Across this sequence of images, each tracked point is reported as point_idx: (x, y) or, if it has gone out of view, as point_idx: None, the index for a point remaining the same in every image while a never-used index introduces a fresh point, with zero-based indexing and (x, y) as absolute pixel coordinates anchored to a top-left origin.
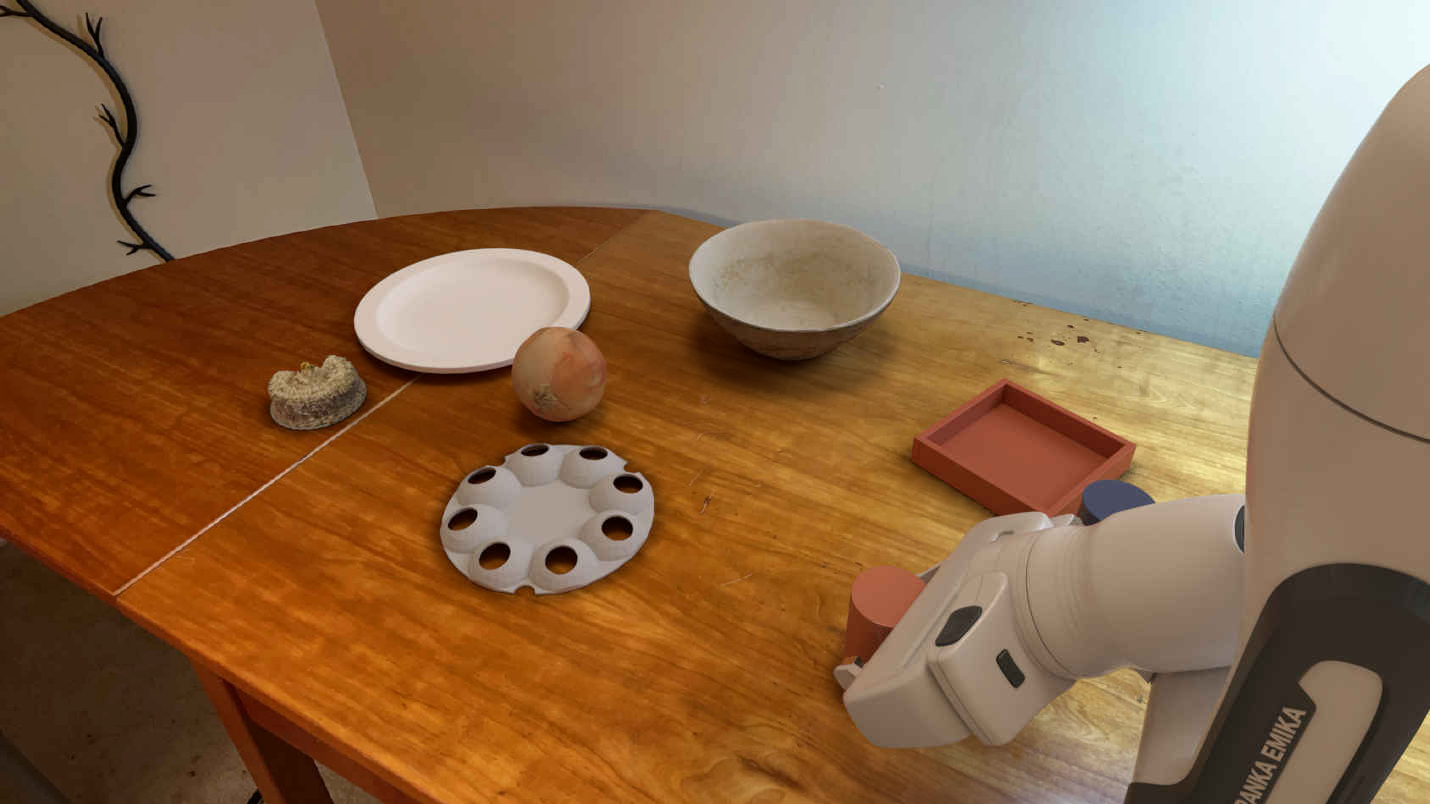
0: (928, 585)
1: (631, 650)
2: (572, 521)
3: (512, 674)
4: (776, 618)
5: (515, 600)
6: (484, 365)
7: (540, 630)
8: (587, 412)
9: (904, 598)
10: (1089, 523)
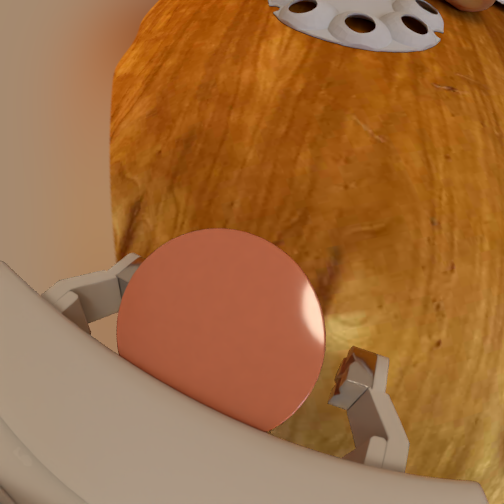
0: (238, 441)
1: (238, 75)
2: (358, 10)
3: (197, 32)
4: (329, 182)
5: (264, 9)
6: None
7: (241, 26)
8: (457, 3)
9: (206, 373)
10: None
